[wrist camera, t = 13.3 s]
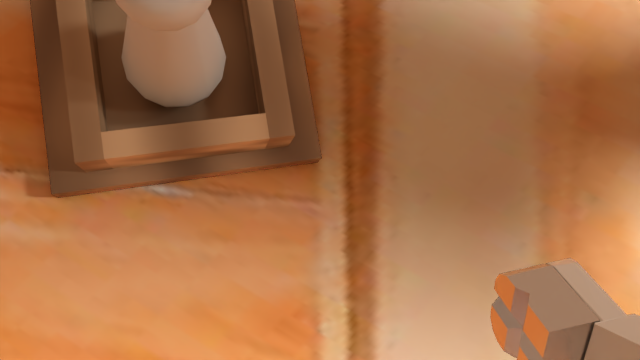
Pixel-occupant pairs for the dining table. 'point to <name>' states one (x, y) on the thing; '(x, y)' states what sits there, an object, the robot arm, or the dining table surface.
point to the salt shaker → (172, 50)
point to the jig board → (169, 122)
